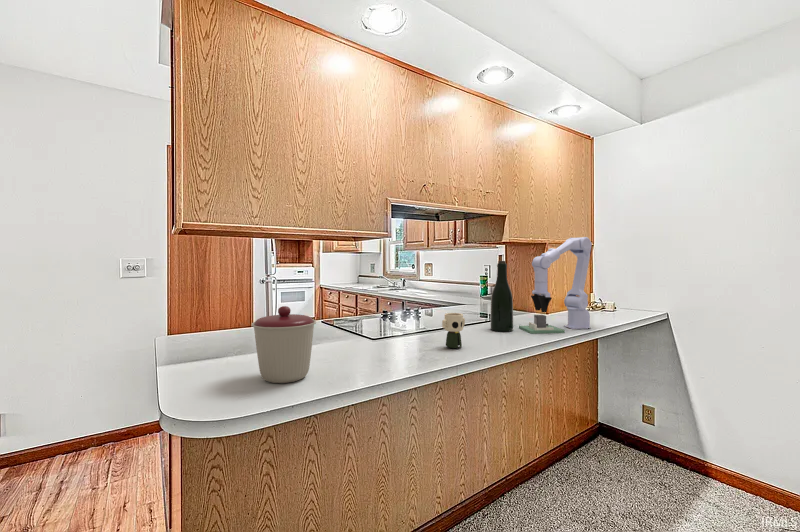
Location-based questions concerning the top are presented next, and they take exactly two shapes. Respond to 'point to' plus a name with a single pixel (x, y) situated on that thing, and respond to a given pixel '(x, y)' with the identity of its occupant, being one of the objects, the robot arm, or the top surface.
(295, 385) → the top surface
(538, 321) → the plug
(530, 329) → the board
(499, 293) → the wine bottle
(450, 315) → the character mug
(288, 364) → the canister
